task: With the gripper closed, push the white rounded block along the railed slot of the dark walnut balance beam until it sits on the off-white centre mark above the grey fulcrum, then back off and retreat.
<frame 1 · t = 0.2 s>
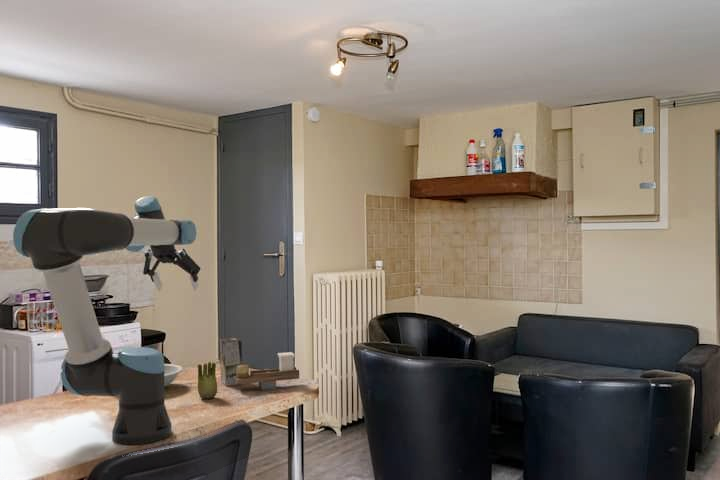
hand: (178, 288, 211), 36 cm above the table, tool tilted 35°, fingers open, 13 cm apart
fennel bulb: (207, 398, 199), on the table
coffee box: (231, 383, 221), on the table
soup bowl: (148, 389, 213), on the table
beam: (267, 388, 212), on the table
white rounded block: (286, 363, 214), point 8 cm above the table, slide at 0.0 cm
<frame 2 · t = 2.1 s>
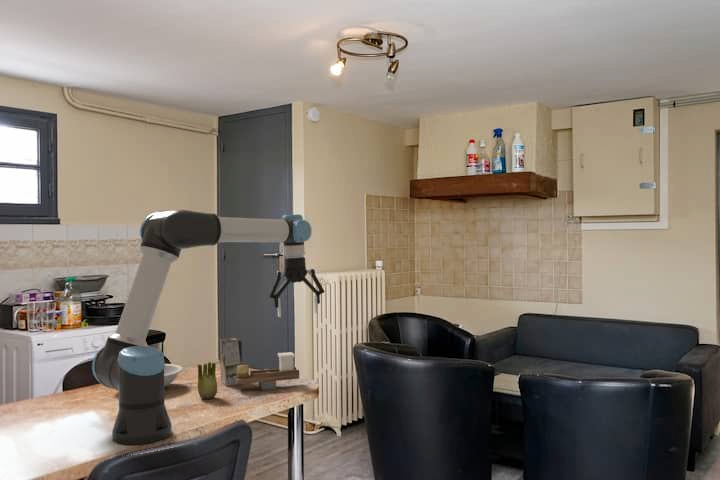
hand: (297, 314, 218), 25 cm above the table, tool pointing down, fingers open, 13 cm apart
nothing on the table moved.
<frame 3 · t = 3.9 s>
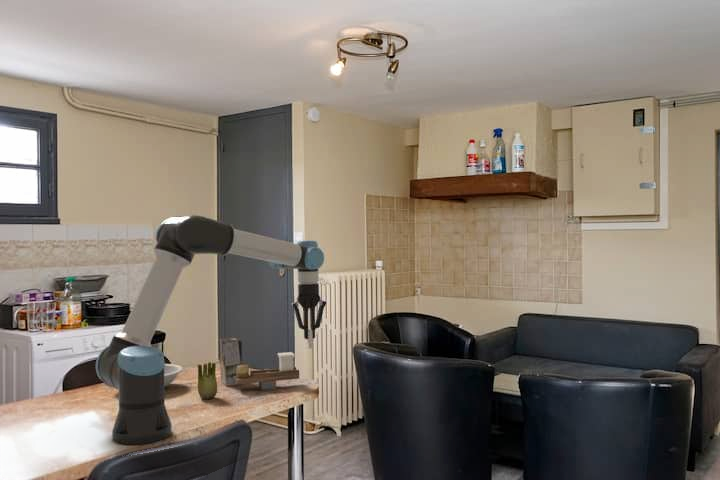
hand: (309, 347, 217), 13 cm above the table, tool pointing down, fingers closed
nothing on the table moved.
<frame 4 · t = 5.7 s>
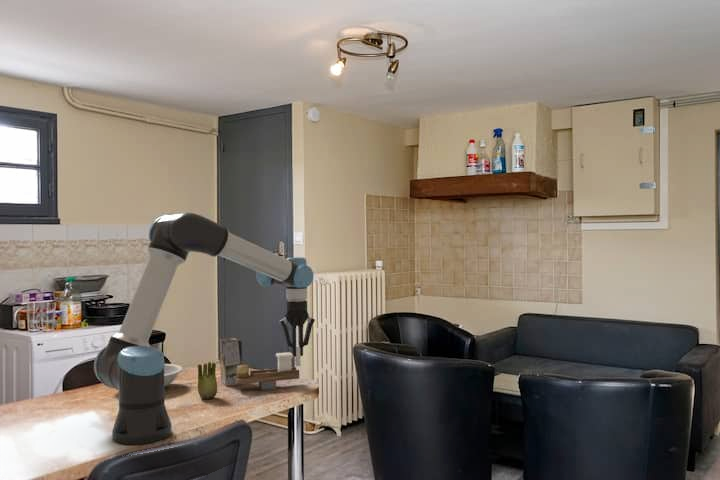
hand: (297, 365, 215), 7 cm above the table, tool pointing down, fingers closed
white rounded block: (284, 363, 214), point 8 cm above the table, slide at 0.7 cm, touching gripper
everything else where it was.
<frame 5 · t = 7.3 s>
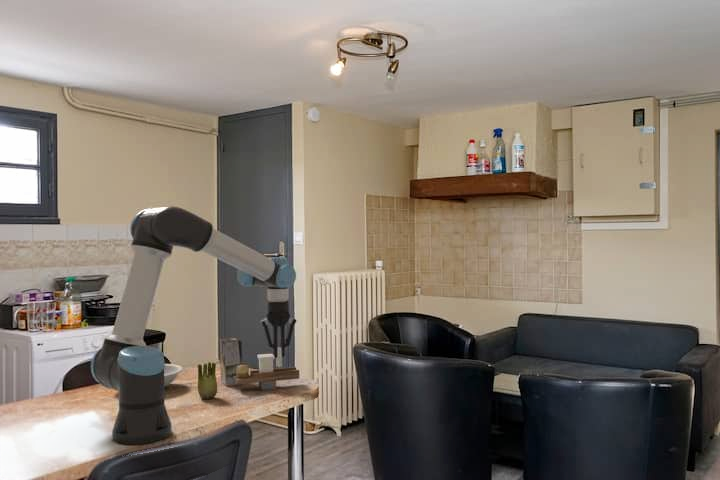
hand: (279, 366, 213), 7 cm above the table, tool pointing down, fingers closed
white rounded block: (266, 365, 212), point 8 cm above the table, slide at 7.3 cm, touching gripper
everything else where it was.
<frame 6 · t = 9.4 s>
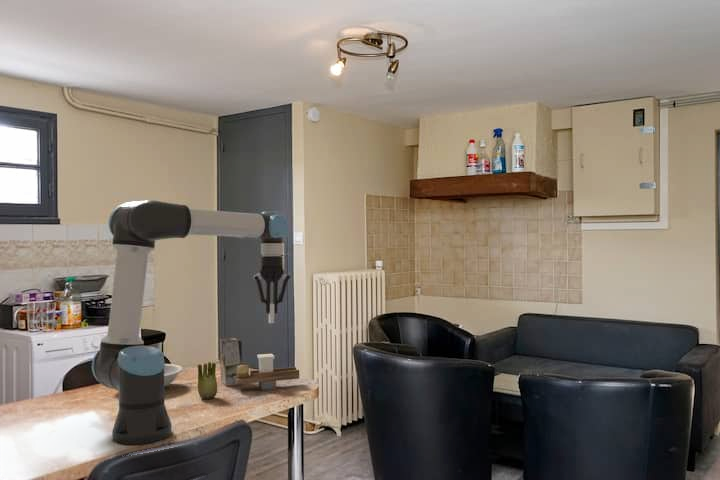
hand: (271, 322, 210), 24 cm above the table, tool pointing down, fingers closed
white rounded block: (266, 365, 212), point 8 cm above the table, slide at 7.3 cm
everything else where it was.
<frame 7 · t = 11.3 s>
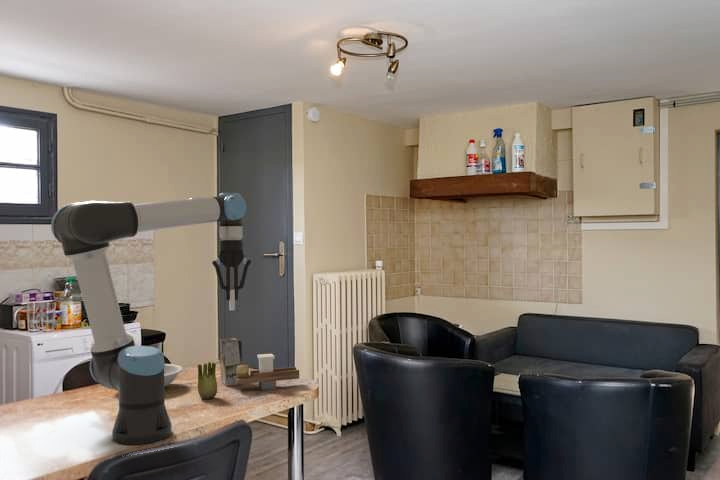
hand: (232, 309, 199), 29 cm above the table, tool pointing down, fingers closed
nothing on the table moved.
at the end: white rounded block slide at 7.3 cm; white rounded block moved 7.3 cm from its start; the gripper is holding nothing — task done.
